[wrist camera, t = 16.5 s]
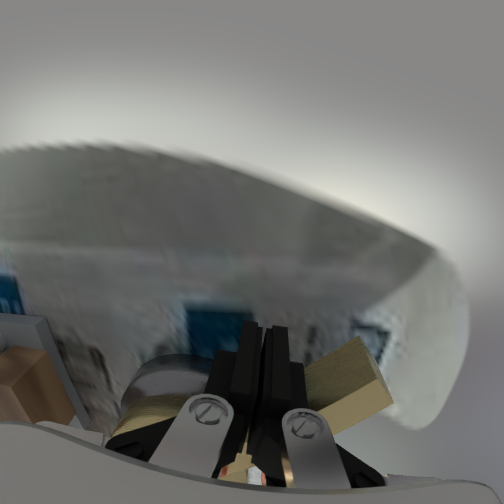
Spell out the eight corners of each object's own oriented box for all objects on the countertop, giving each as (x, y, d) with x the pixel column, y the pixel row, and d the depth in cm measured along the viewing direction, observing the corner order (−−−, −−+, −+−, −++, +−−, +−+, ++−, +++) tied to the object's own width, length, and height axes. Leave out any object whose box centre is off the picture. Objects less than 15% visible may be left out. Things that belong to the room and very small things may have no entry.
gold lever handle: (187, 479, 15) (177, 515, 12) (103, 414, 14) (80, 451, 11) (397, 392, 12) (416, 438, 9) (323, 286, 11) (339, 329, 8)
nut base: (152, 439, 18) (144, 459, 16) (117, 350, 16) (101, 370, 14) (329, 442, 17) (333, 465, 15) (339, 348, 15) (347, 372, 13)
